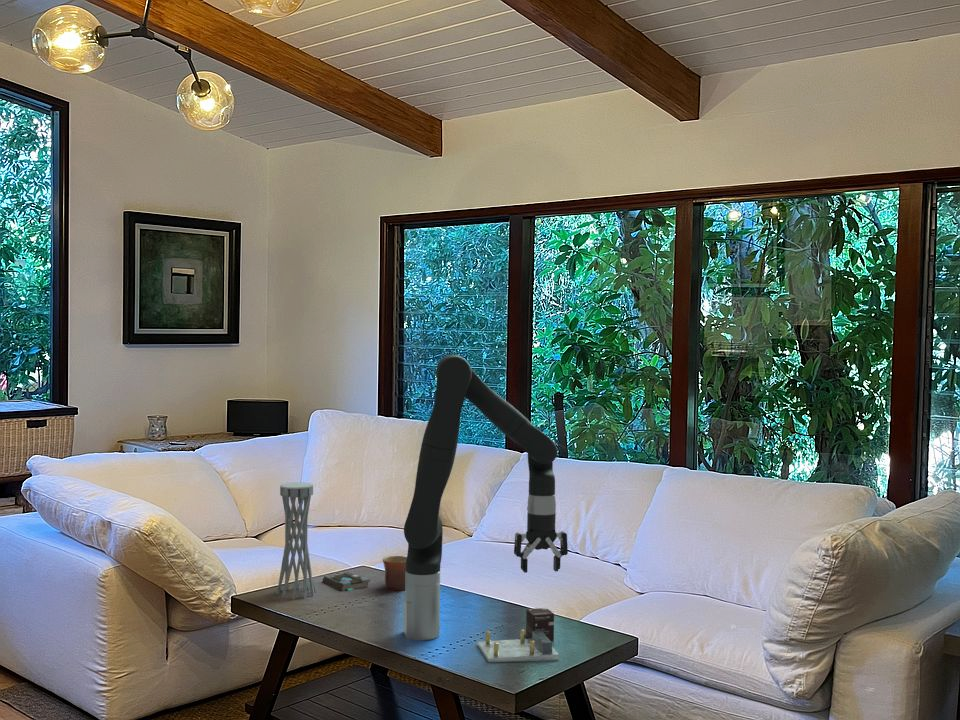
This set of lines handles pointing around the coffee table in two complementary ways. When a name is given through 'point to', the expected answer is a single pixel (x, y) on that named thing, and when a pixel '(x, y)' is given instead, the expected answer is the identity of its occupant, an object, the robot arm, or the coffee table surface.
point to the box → (540, 622)
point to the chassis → (519, 648)
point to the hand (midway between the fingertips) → (540, 571)
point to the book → (346, 581)
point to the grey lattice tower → (296, 537)
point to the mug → (394, 573)
